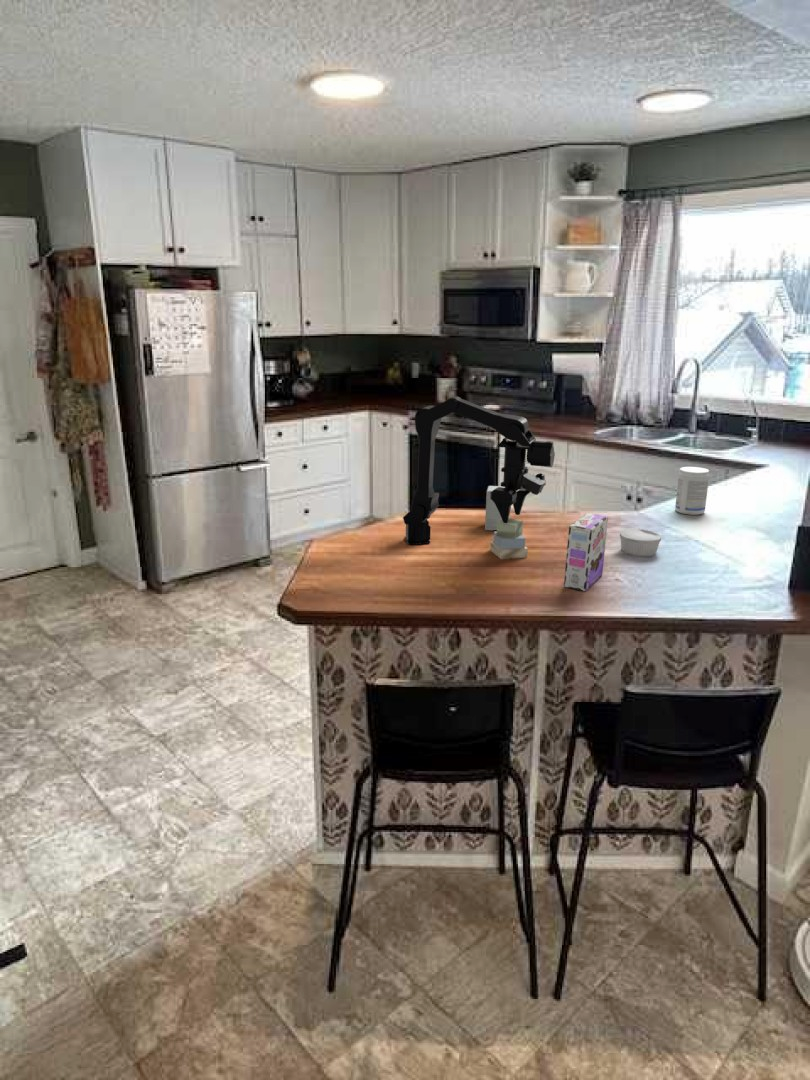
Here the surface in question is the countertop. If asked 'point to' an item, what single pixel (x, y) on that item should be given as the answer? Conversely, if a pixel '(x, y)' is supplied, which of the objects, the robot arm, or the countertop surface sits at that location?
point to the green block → (510, 528)
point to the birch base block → (508, 552)
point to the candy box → (585, 551)
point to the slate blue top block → (509, 542)
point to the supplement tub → (692, 490)
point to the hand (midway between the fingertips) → (511, 518)
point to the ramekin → (639, 542)
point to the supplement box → (491, 511)
